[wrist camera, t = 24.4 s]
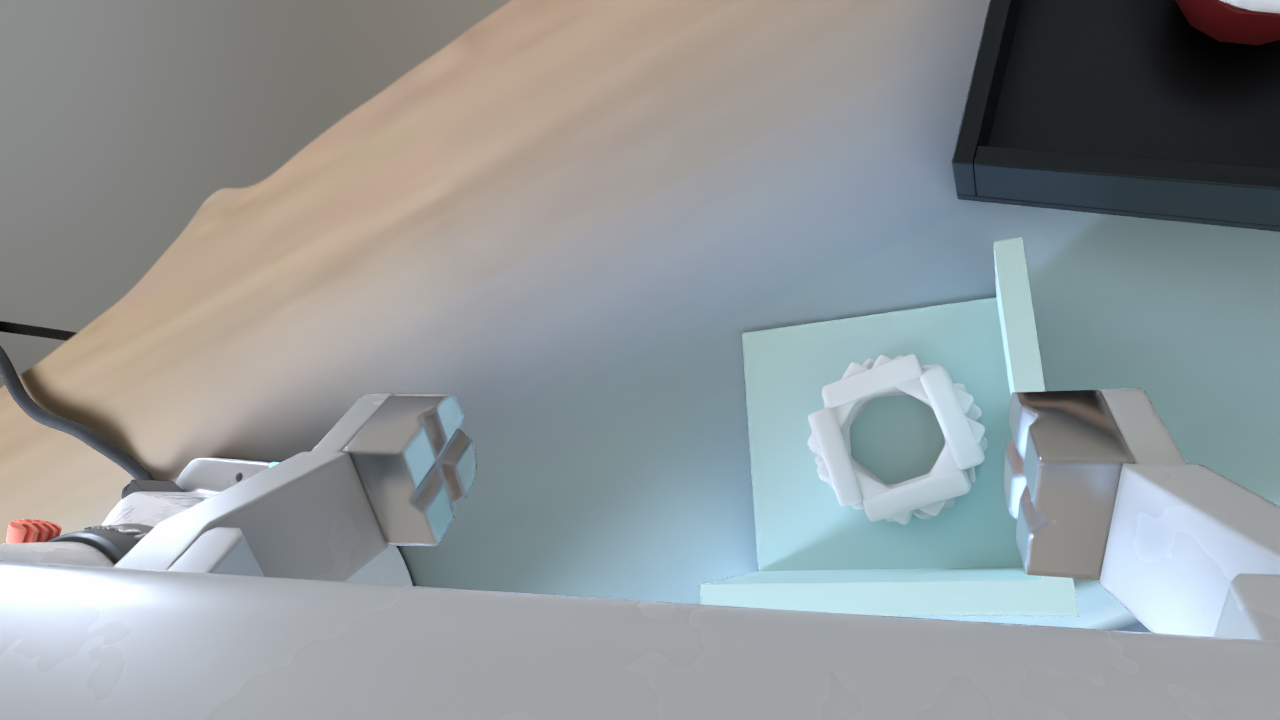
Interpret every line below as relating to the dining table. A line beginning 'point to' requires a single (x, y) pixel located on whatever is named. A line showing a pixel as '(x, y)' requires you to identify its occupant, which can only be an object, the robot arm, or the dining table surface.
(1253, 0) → the cocoa
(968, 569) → the pale cyan corner bracket
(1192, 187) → the tray
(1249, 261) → the dining table surface
